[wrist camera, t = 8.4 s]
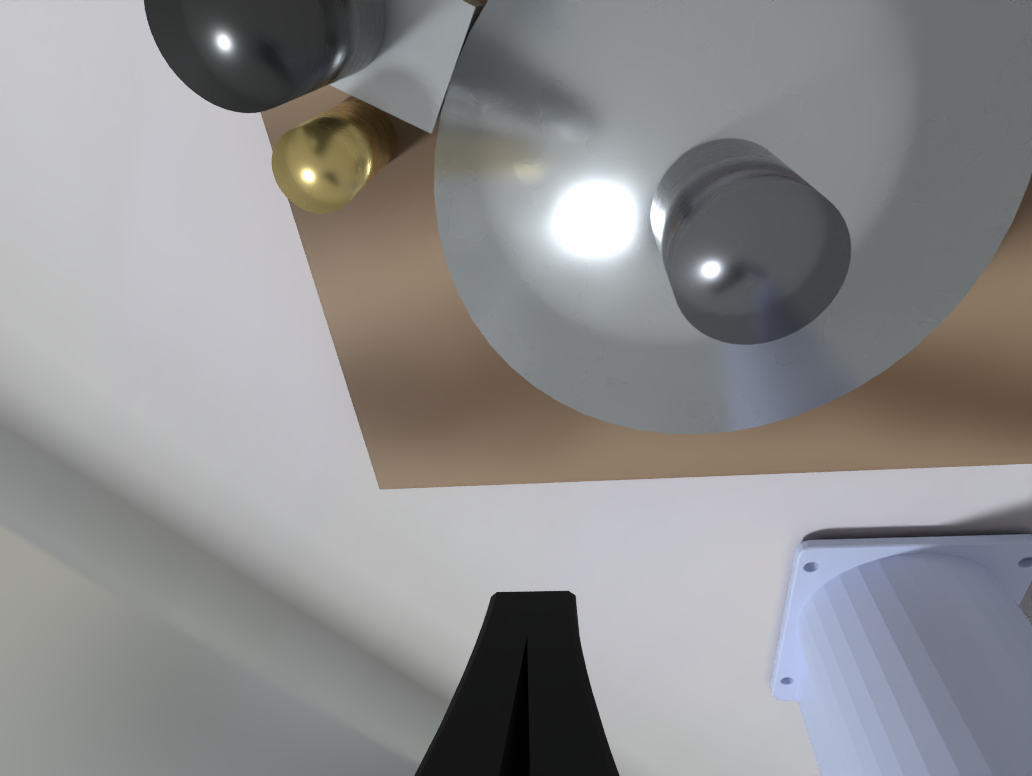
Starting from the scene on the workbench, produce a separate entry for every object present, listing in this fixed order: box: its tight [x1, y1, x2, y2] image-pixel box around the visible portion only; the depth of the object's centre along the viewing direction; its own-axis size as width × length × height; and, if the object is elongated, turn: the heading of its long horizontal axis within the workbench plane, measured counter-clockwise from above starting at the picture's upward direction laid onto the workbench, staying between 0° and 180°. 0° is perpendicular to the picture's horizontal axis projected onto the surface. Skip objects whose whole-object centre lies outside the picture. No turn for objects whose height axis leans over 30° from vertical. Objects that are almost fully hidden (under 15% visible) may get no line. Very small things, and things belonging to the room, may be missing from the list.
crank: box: [144, 0, 1032, 434], centre depth 12 cm, size 16×12×6 cm
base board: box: [261, 0, 1032, 489], centre depth 14 cm, size 20×20×1 cm
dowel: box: [272, 99, 396, 214], centre depth 13 cm, size 2×2×3 cm
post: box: [651, 138, 851, 345], centre depth 11 cm, size 3×3×3 cm
